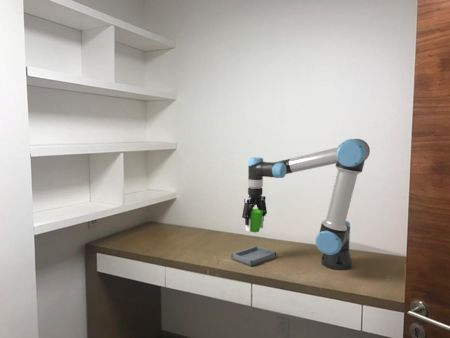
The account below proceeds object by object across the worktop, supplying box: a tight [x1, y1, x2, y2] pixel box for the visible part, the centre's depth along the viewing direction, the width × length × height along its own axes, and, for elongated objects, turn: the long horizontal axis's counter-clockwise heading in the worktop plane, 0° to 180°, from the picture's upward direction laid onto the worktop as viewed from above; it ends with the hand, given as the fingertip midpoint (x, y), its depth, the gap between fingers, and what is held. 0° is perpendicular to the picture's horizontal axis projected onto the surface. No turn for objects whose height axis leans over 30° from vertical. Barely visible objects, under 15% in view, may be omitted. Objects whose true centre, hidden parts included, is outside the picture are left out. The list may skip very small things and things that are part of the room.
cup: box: [249, 208, 263, 233], centre depth 188 cm, size 9×9×11 cm
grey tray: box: [230, 245, 277, 268], centre depth 190 cm, size 14×19×3 cm
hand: (254, 229), depth 189 cm, fingers closed on cup, 9 cm apart
